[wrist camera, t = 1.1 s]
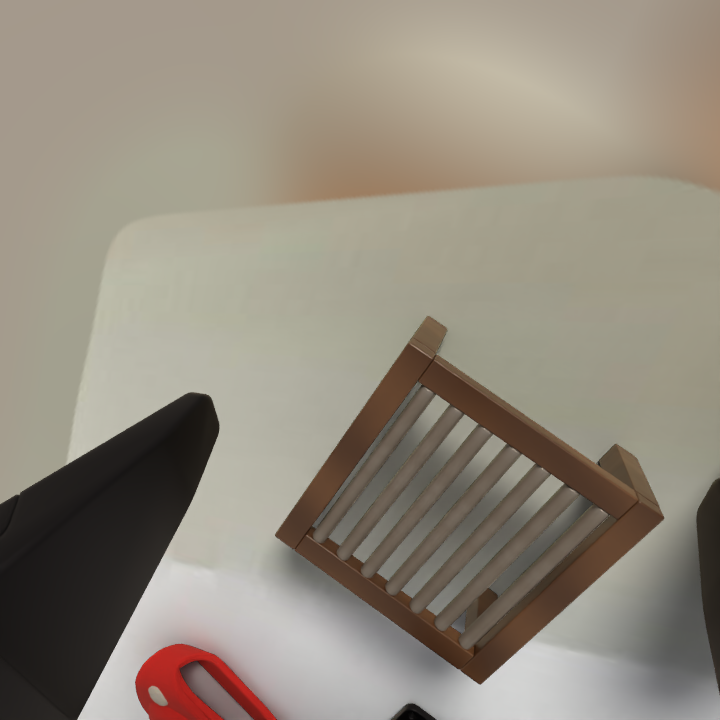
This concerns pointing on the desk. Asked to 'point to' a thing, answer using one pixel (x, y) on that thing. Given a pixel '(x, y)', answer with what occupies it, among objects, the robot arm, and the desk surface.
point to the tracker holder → (173, 696)
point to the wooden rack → (523, 436)
